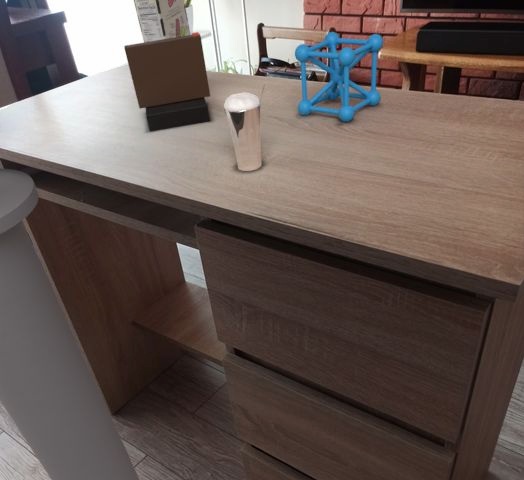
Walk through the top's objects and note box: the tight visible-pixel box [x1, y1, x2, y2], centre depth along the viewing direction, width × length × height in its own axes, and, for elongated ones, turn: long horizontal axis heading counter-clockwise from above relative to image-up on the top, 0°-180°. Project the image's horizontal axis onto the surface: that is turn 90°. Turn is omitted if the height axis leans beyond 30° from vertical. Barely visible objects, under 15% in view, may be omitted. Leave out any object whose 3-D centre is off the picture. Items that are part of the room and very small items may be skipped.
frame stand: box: [145, 97, 210, 132], centre depth 88 cm, size 10×10×2 cm
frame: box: [123, 31, 211, 109], centre depth 84 cm, size 12×2×9 cm, turn 102°
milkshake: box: [223, 84, 266, 172], centre depth 67 cm, size 4×5×10 cm
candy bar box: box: [133, 0, 191, 43], centre depth 98 cm, size 11×5×16 cm, turn 164°
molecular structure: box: [294, 31, 384, 123], centre depth 80 cm, size 10×10×10 cm
